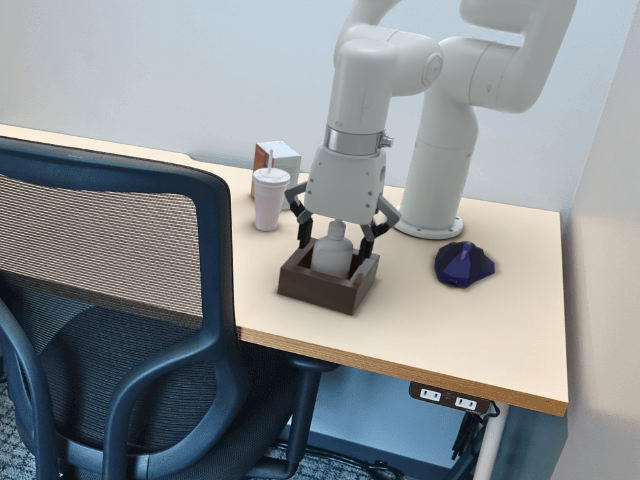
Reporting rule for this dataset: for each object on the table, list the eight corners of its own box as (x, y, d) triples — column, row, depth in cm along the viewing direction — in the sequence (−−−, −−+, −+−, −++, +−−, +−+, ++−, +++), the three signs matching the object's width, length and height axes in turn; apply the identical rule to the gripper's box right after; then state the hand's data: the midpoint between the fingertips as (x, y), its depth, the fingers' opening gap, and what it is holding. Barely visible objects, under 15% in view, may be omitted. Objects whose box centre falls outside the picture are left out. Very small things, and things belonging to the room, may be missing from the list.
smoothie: (260, 214, 126) (268, 140, 118) (290, 225, 123) (301, 149, 115) (240, 227, 122) (247, 150, 114) (271, 238, 119) (281, 160, 111)
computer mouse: (501, 256, 115) (508, 235, 112) (485, 297, 104) (493, 274, 102) (443, 242, 118) (449, 221, 116) (422, 280, 108) (428, 258, 106)
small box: (249, 195, 133) (254, 142, 127) (276, 191, 135) (282, 139, 129) (267, 212, 127) (273, 158, 121) (294, 209, 129) (302, 154, 123)
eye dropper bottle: (342, 297, 103) (356, 225, 97) (305, 289, 105) (316, 218, 98) (347, 283, 107) (361, 212, 100) (311, 276, 109) (322, 206, 102)
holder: (304, 260, 113) (307, 236, 110) (374, 280, 108) (380, 254, 105) (276, 293, 104) (280, 267, 102) (352, 315, 100) (357, 289, 97)
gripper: (425, 143, 92) (397, 257, 102) (301, 119, 99) (286, 229, 109) (411, 160, 87) (384, 280, 96) (281, 134, 94) (268, 248, 104)
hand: (332, 252), depth 103 cm, fingers open, 8 cm apart
